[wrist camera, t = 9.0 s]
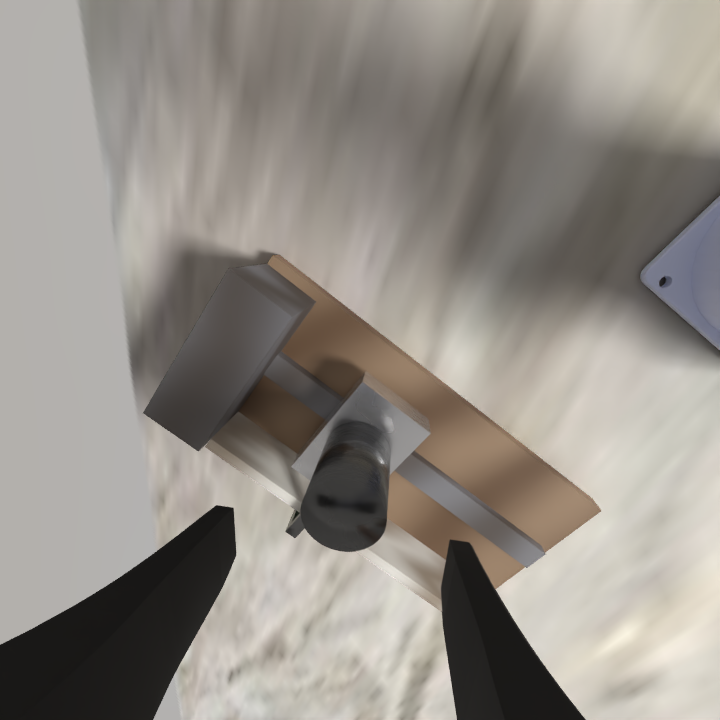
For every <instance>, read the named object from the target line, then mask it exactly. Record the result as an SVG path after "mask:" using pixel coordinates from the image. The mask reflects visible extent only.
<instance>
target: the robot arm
mask: <svg viewBox="0 0 720 720" xmlns="http://www.w3.org/2000/svg"><path fill="white" fill-rule="evenodd" d="M664 276H665V278H666V282H665V284H664V285H663V286H661V287H660V285H659V281H660V279H661V278H663V277H664ZM640 277H641V281H642V282H643V284H645V285H646V286H647V287H648V288H649V289H650V290H651V291H653V292H654V293H655V294H656V295H657V296H658V297H659V298H660V299H662V300H663V301H664V302H665V303H666V304H667V305H668V306H670V307H671V308H672V309H673V310H674V311H675V312H676V313H678V314H679V315H680V316H681V317H682V318H683V319H684V320H686V321H687V322H688V323H689V324H690V325H691V326H692V327H694V328H695V329H696V330H697V331H698V332H699V333H700V334H702V335H703V336H704V337H705V338H706V339H707V340H708V341H709V342H711V343H712V344H713V345H714V346H715V347H716V348H717V349H719V350H720V196H719V197H718V198H717V199H716V200H715V201H713V202H712V203H711V204H710V205H709V206H708V207H707V208H706V209H705V210H704V211H703V212H702V213H701V214H700V215H699V216H698V217H697V218H696V219H695V220H694V221H693V222H692V223H691V224H689V225H688V226H687V227H686V228H685V229H684V230H683V231H682V232H681V233H680V234H679V235H678V236H677V237H676V238H675V239H674V240H673V241H672V242H671V243H670V244H669V245H668V246H667V247H665V248H664V249H663V250H662V251H661V252H660V253H659V254H658V255H657V256H656V257H655V258H654V259H653V260H652V261H651V262H650V263H649V264H648V265H647V266H646V267H645V268H644V269H643V270H642V272H641V275H640ZM235 557H236V542H235V525H234V508H231V507H224V506H217V505H216V506H215V507H214V508H212V509H211V510H210V511H208V512H207V513H206V514H204V515H203V516H202V517H201V518H199V519H198V520H197V521H196V522H194V523H193V524H192V525H190V526H189V527H188V528H187V529H185V530H184V531H183V532H182V533H180V534H179V535H178V536H176V537H175V538H174V539H172V540H171V541H170V542H168V543H167V544H166V545H164V546H163V547H162V548H160V549H159V550H158V551H157V552H155V553H154V554H152V555H151V556H150V557H148V558H147V559H145V560H144V561H143V562H141V563H140V564H139V565H137V566H136V567H134V568H133V569H132V570H130V571H128V572H127V573H126V574H124V575H123V576H121V577H120V578H118V579H117V580H115V581H114V582H112V583H110V584H109V585H107V586H106V587H104V588H103V589H101V590H99V591H98V592H96V593H95V594H93V595H91V596H90V597H88V598H86V599H85V600H83V601H81V602H80V603H78V604H76V605H75V606H73V607H71V608H69V609H67V610H66V611H64V612H62V613H60V614H58V615H56V616H55V617H53V618H51V619H49V620H47V621H45V622H44V623H42V624H40V625H38V626H37V627H35V628H33V629H31V630H29V631H27V632H25V633H23V634H21V635H19V636H17V637H15V638H13V639H11V640H9V641H7V642H5V643H3V644H1V645H0V720H153V718H154V716H155V714H156V712H157V710H158V707H159V705H160V703H161V701H162V699H163V697H164V695H165V693H166V690H167V688H168V686H169V684H170V682H171V680H172V678H173V676H174V674H175V672H176V670H177V668H178V667H179V665H180V663H181V661H182V659H183V657H184V656H185V654H186V652H187V650H188V648H189V647H190V645H191V643H192V641H193V640H194V638H195V636H196V634H197V632H198V631H199V629H200V627H201V625H202V624H203V622H204V620H205V618H206V616H207V615H208V613H209V611H210V609H211V607H212V606H213V604H214V602H215V600H216V598H217V597H218V595H219V593H220V591H221V589H222V587H223V585H224V583H225V581H226V578H227V576H228V574H229V571H230V569H231V566H232V564H233V562H234V559H235ZM441 601H442V619H443V629H444V636H445V643H446V649H447V656H448V663H449V669H450V676H451V682H452V689H453V695H454V702H455V708H456V715H457V720H586V719H585V718H584V717H583V716H582V715H581V713H580V712H579V711H578V710H577V708H576V707H575V706H574V704H573V703H572V702H571V701H570V699H569V698H568V697H567V695H566V694H565V693H564V692H563V690H562V689H561V688H560V686H559V685H558V684H557V682H556V681H555V680H554V678H553V677H552V675H551V674H550V673H549V671H548V670H547V669H546V667H545V666H544V664H543V663H542V662H541V660H540V659H539V657H538V656H537V655H536V653H535V652H534V650H533V649H532V647H531V646H530V644H529V643H528V641H527V640H526V638H525V637H524V635H523V634H522V632H521V631H520V629H519V628H518V626H517V624H516V623H515V621H514V620H513V618H512V616H511V615H510V613H509V612H508V610H507V608H506V607H505V605H504V603H503V602H502V600H501V598H500V597H499V595H498V593H497V591H496V590H495V588H494V586H493V584H492V583H491V581H490V579H489V577H488V575H487V574H486V572H485V570H484V568H483V566H482V564H481V562H480V560H479V558H478V556H477V554H476V552H475V550H474V548H473V546H472V545H471V544H470V542H465V541H458V540H451V539H450V541H449V546H448V551H447V557H446V562H445V567H444V573H443V578H442V584H441Z"/></svg>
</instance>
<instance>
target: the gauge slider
mask: <svg viewBox="0 0 720 720" xmlns="http://www.w3.org/2000/svg"><path fill="white" fill-rule="evenodd" d="M430 434H431V432H430V425H429V419H428V418H427V417H426V416H425V415H423V414H422V413H421V412H419V411H418V410H417V409H415V408H414V407H413V406H411V405H410V404H409V403H407V402H406V401H405V400H404V399H402V398H401V397H400V396H398V395H397V394H396V393H394V392H393V391H392V390H390V389H389V388H388V387H386V386H385V385H384V384H383V383H381V382H380V381H379V380H377V379H376V378H375V377H373V376H372V375H371V374H369V373H368V372H367V371H365V373H364V374H363V375H362V376H361V377H360V379H359V380H358V381H357V382H356V383H355V385H354V386H353V387H352V388H351V389H350V391H349V392H348V393H347V394H346V395H345V397H344V398H343V399H342V400H341V401H340V403H339V404H338V405H337V406H336V407H335V409H334V410H333V411H332V412H331V413H330V415H329V416H328V417H327V418H326V419H325V421H324V422H323V423H322V424H321V425H320V427H319V428H318V429H317V430H316V431H315V433H314V434H313V435H312V436H311V437H310V439H309V440H308V441H307V442H306V443H305V445H304V446H303V447H302V448H301V449H300V451H299V452H298V454H297V456H296V458H295V460H294V462H293V464H292V466H291V467H292V468H293V469H295V470H296V471H298V472H299V473H300V474H302V475H303V476H305V477H306V478H307V479H309V480H310V483H309V486H308V488H307V491H306V493H305V496H304V498H303V501H302V504H301V509H300V513H299V512H298V511H296V510H294V512H293V514H292V517H291V519H290V522H289V524H288V527H287V529H286V531H285V532H287V533H288V534H290V535H291V536H293V537H294V538H296V537H297V536H298V535H299V534H300V532H301V531H302V530H303V529H304V528H305V529H306V530H307V532H308V533H309V534H310V535H311V536H312V537H313V538H314V539H315V540H316V541H317V542H319V543H320V544H322V545H324V546H326V547H328V548H331V549H334V550H338V551H344V552H353V551H360V550H363V549H366V548H368V547H370V546H372V545H374V544H375V543H376V542H377V541H378V540H379V539H380V538H381V537H382V535H383V533H384V531H385V529H386V524H387V510H388V494H389V477H390V474H391V473H392V472H393V471H394V470H395V469H396V468H397V467H398V466H399V465H400V464H401V463H402V462H403V461H404V460H405V459H406V458H407V457H408V456H409V455H410V454H411V453H412V452H413V451H414V450H415V449H416V448H417V447H418V446H419V445H420V444H421V443H422V442H423V441H424V440H425V439H426V438H427V437H428V436H429V435H430Z"/></svg>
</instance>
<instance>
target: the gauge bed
mask: <svg viewBox="0 0 720 720" xmlns="http://www.w3.org/2000/svg"><path fill="white" fill-rule="evenodd" d="M365 371H367V372H368V373H369V374H371V375H372V376H373V377H375V378H376V379H377V380H379V381H380V382H381V383H383V384H384V385H385V386H386V387H388V388H389V389H390V390H392V391H393V392H394V393H396V394H397V395H398V396H400V397H401V398H402V399H404V400H405V401H406V402H407V403H409V404H410V405H411V406H413V407H414V408H415V409H417V410H418V411H419V412H421V413H422V414H423V415H425V416H426V417H427V418H428V419H429V425H430V432H431V434H430V435H429V436H428V437H427V438H426V439H425V440H424V441H423V442H422V443H421V444H420V445H419V446H418V447H417V448H416V449H415V450H414V451H413V452H412V453H411V454H410V455H409V456H408V457H407V458H406V459H405V460H404V461H403V462H402V463H401V464H400V465H399V466H398V467H397V468H396V469H395V470H394V471H393V472H392V473H391V474H390V477H389V494H388V510H387V524H386V529H385V531H384V533H383V535H382V537H381V538H380V539H379V540H378V541H377V542H376V543H375V544H374V545H372V546H370V547H368V548H366V549H363V550H360V551H355V552H357V553H358V554H359V555H361V556H362V557H364V558H365V559H367V560H368V561H370V562H371V563H372V564H374V565H375V566H377V567H378V568H380V569H381V570H382V571H384V572H385V573H387V574H388V575H390V576H391V577H392V578H394V579H395V580H397V581H398V582H400V583H401V584H403V585H404V586H405V587H407V588H408V589H410V590H411V591H413V592H414V593H415V594H417V595H418V596H420V597H421V598H423V599H424V600H425V601H427V602H428V603H430V604H431V605H433V606H434V607H436V608H437V609H438V610H440V611H441V612H442V601H441V584H442V578H443V573H444V567H445V562H446V557H447V551H448V546H449V541H450V539H451V540H458V541H465V542H470V544H471V545H472V546H473V548H474V550H475V552H476V554H477V556H478V558H479V560H480V562H481V564H482V566H483V568H484V570H485V572H486V574H487V575H488V577H489V579H490V581H491V583H492V584H493V586H494V588H495V589H496V588H498V587H499V586H500V585H502V584H503V583H504V582H506V581H507V580H508V579H510V578H511V577H513V576H514V575H515V574H517V573H518V572H519V571H521V570H522V569H523V568H525V567H526V568H527V567H529V566H530V565H532V564H533V563H534V562H536V561H537V560H538V559H540V558H541V557H542V556H544V555H545V552H546V551H548V550H549V549H550V548H552V547H553V546H555V545H556V544H557V543H559V542H560V541H561V540H563V539H564V538H565V537H567V536H568V535H569V534H571V533H572V532H574V531H575V530H576V529H578V528H579V527H580V526H582V525H583V524H584V523H586V522H587V521H588V520H590V519H591V518H592V517H594V516H595V515H597V514H598V513H599V512H601V510H600V508H599V507H598V506H597V504H596V503H595V502H594V500H593V499H592V498H591V497H590V496H588V495H587V494H586V493H584V492H583V491H582V490H581V489H579V488H578V487H577V486H576V485H574V484H573V483H572V482H570V481H569V480H568V479H567V478H565V477H564V476H563V475H561V474H560V473H559V472H558V471H556V470H555V469H554V468H552V467H551V466H550V465H549V464H547V463H546V462H545V461H543V460H542V459H541V458H540V457H538V456H537V455H536V454H534V453H533V452H532V451H531V450H529V449H528V448H527V447H525V446H524V445H523V444H522V443H520V442H519V441H518V440H516V439H515V438H514V437H513V436H511V435H510V434H509V433H507V432H506V431H505V430H504V429H502V428H501V427H500V426H499V425H497V424H496V423H495V422H493V421H492V420H491V419H490V418H488V417H487V416H486V415H484V414H483V413H482V412H481V411H479V410H478V409H477V408H475V407H474V406H473V405H472V404H470V403H469V402H468V401H466V400H465V399H464V398H463V397H461V396H460V395H459V394H457V393H456V392H455V391H454V390H452V389H451V388H450V387H448V386H447V385H446V384H445V383H443V382H442V381H441V380H439V379H438V378H437V377H436V376H434V375H433V374H432V373H430V372H429V371H428V370H427V369H425V368H424V367H423V366H422V365H420V364H419V363H418V362H416V361H415V360H414V359H413V358H411V357H410V356H409V355H407V354H406V353H405V352H404V351H402V350H401V349H400V348H398V347H397V346H396V345H395V344H393V343H392V342H391V341H389V340H388V339H387V338H386V337H384V336H383V335H382V334H380V333H379V332H378V331H377V330H375V329H374V328H373V327H371V326H370V325H369V324H368V323H366V322H365V321H364V320H362V319H361V318H360V317H359V316H357V315H356V314H355V313H353V312H352V311H351V310H350V309H348V308H347V307H346V306H345V305H343V304H342V303H341V302H339V301H338V300H337V299H336V298H334V297H333V296H332V295H330V294H329V293H328V292H327V291H325V290H324V289H323V288H321V287H320V286H319V285H318V284H316V283H315V282H314V281H312V280H311V279H310V278H309V277H307V276H306V275H305V274H303V273H302V272H301V271H300V270H298V269H297V268H296V267H294V266H293V265H292V264H291V263H289V262H288V261H287V260H285V259H284V258H283V257H282V256H280V255H272V257H271V259H270V260H269V262H268V263H267V264H261V265H253V266H244V267H236V268H229V269H228V270H227V272H226V274H225V275H224V277H223V279H222V280H221V282H220V284H219V285H218V287H217V289H216V291H215V292H214V294H213V296H212V297H211V299H210V301H209V302H208V304H207V306H206V307H205V309H204V311H203V313H202V314H201V316H200V318H199V319H198V321H197V323H196V324H195V326H194V328H193V329H192V331H191V333H190V335H189V336H188V338H187V340H186V341H185V343H184V345H183V346H182V348H181V350H180V351H179V353H178V355H177V357H176V358H175V360H174V362H173V363H172V365H171V367H170V368H169V370H168V372H167V373H166V375H165V377H164V378H163V380H162V382H161V384H160V385H159V387H158V389H157V390H156V392H155V394H154V395H153V397H152V399H151V400H150V402H149V404H148V406H147V407H146V409H145V411H144V412H143V413H144V414H145V415H147V416H148V417H150V418H151V419H152V420H154V421H155V422H157V423H158V424H160V425H161V426H162V427H164V428H165V429H167V430H168V431H170V432H171V433H173V434H174V435H175V436H177V437H178V438H180V439H181V440H183V441H184V442H186V443H187V444H188V445H190V446H191V447H193V448H194V449H196V450H197V451H199V450H200V449H201V448H202V447H203V446H204V445H205V444H206V443H207V442H208V441H209V440H210V441H209V442H208V443H207V445H206V446H205V447H206V448H207V449H209V450H210V451H212V452H213V453H215V454H216V455H217V456H219V457H220V458H222V459H223V460H225V461H226V462H227V463H229V464H230V465H232V466H233V467H235V468H236V469H237V470H239V471H240V472H242V473H243V474H245V475H246V476H248V477H249V478H250V479H252V480H253V481H255V482H256V483H258V484H259V485H260V486H262V487H263V488H265V489H266V490H268V491H269V492H271V493H272V494H273V495H275V496H276V497H278V498H279V499H281V500H282V501H283V502H285V503H286V504H288V505H289V506H291V507H292V508H293V509H295V510H296V511H298V512H299V513H300V509H301V504H302V501H303V498H304V496H305V493H306V491H307V488H308V486H309V483H310V480H309V479H307V478H306V477H305V476H303V475H302V474H300V473H299V472H298V471H296V470H295V469H293V468H292V467H291V466H292V464H293V462H294V460H295V458H296V456H297V454H298V452H299V451H300V449H301V448H302V447H303V446H304V445H305V443H306V442H307V441H308V440H309V439H310V437H311V436H312V435H313V434H314V433H315V431H316V430H317V429H318V428H319V427H320V425H321V424H322V423H323V422H324V421H325V419H326V418H327V417H328V416H329V415H330V413H331V412H332V411H333V410H334V409H335V407H336V406H337V405H338V404H339V403H340V401H341V400H342V399H343V398H344V397H345V395H346V394H347V393H348V392H349V391H350V389H351V388H352V387H353V386H354V385H355V383H356V382H357V381H358V380H359V379H360V377H361V376H362V375H363V374H364V373H365Z"/></svg>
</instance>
